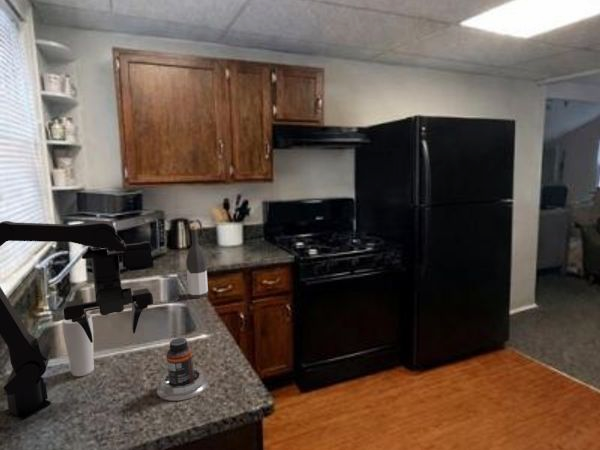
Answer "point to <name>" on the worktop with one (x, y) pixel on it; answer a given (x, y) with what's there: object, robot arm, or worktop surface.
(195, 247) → the wine bottle
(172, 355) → the supplement bottle
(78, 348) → the drinking glass
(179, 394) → the faceted metal ring
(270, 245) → the worktop surface
